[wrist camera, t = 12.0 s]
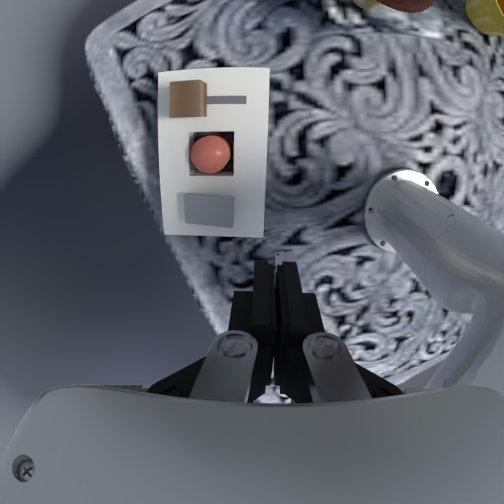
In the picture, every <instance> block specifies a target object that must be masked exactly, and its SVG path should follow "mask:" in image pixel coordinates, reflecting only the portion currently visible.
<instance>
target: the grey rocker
mask: <svg viewBox="0 0 504 504" xmlns="http://www.w3.org/2000/svg"><path fill="white" fill-rule="evenodd" d="M184 214H185V223H189V224H198V225H208V226H217V227H226V228H232V227H233V226H234V196H221V195H208V194H193V193H186V194H184Z"/></svg>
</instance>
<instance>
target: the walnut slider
mask: <svg viewBox="0 0 504 504" xmlns="http://www.w3.org/2000/svg"><path fill="white" fill-rule="evenodd" d="M186 117H207V83H205V82H203V81H202V80H186V81H174V82H170V92H169V118H186Z"/></svg>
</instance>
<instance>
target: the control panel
mask: <svg viewBox="0 0 504 504" xmlns="http://www.w3.org/2000/svg"><path fill="white" fill-rule="evenodd" d="M269 72H270V68H246V67H234V68H203V69H188V70H177V71H167V72H159V73H158V148H159V171H160V189H161V203H162V215H163V227H164V235H195V236H227V237H255V238H263V233H264V210H265V186H266V161H267V134H268V105H269ZM186 80H202V81H203V82H205V83H207V117H186V118H169V92H170V82H174V81H186ZM213 131H234V172H216V173H204V172H201V171H197V172H195V168H194V164H193V163H192V160H191V150H192V147H193V145H194V132H213ZM186 193H193V194H208V195H221V196H234V226H233V227H232V228H226V227H217V226H208V225H198V224H189V223H185V214H184V194H186Z"/></svg>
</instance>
